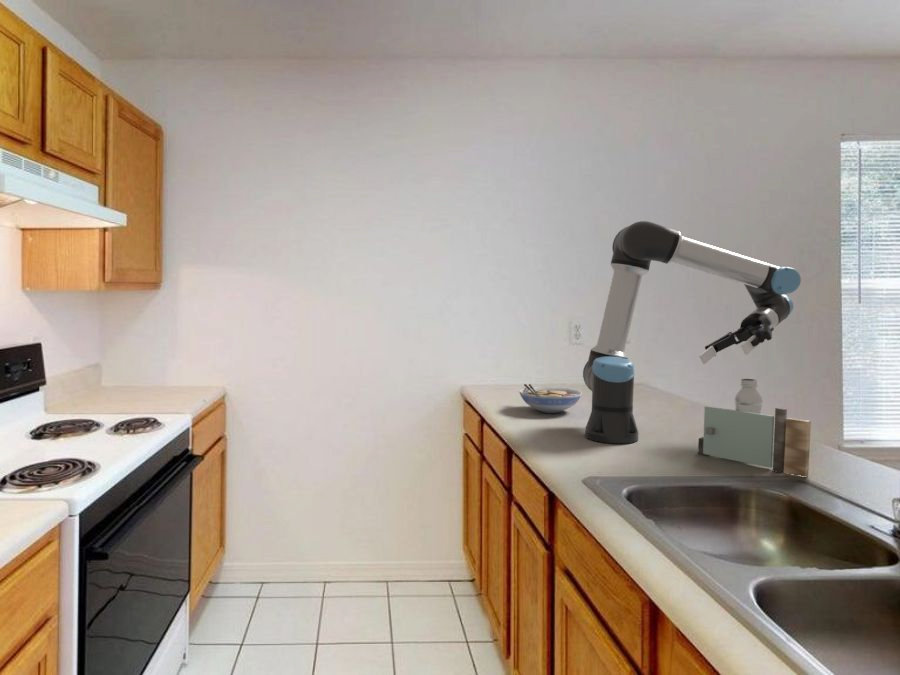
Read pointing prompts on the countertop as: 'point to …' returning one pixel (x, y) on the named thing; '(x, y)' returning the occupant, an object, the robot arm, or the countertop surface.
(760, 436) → the gate
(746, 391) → the plastic bottle
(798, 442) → the brown wooden panel
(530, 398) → the ramen bowl
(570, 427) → the countertop surface
